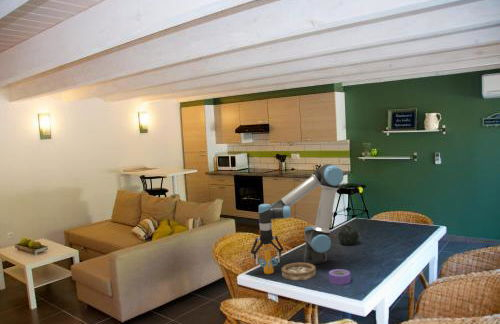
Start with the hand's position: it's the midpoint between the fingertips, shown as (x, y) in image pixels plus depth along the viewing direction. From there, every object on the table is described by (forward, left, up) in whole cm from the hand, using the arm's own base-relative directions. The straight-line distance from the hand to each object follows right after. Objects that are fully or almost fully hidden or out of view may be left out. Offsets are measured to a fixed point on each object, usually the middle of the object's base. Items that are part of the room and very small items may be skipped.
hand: (267, 263), depth 258 cm
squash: (-66, -43, -6) cm, 79 cm away
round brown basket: (-17, +9, -6) cm, 20 cm away
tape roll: (-37, +26, -6) cm, 46 cm away
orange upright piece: (0, 0, -6) cm, 6 cm away
